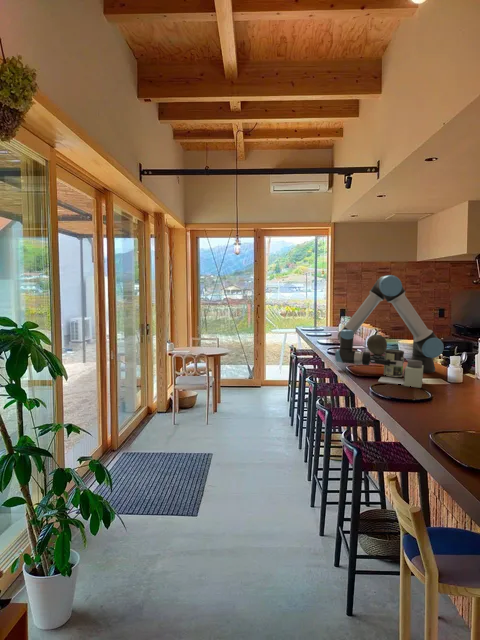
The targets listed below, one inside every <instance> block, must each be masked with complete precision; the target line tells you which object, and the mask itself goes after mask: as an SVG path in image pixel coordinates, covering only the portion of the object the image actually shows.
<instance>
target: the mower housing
mask: <svg viewBox="0 0 480 640" xmlns="http://www.w3.org/2000/svg"><path fill="white" fill-rule="evenodd" d="M423 366H424V365H422V361H419V360H411V359H408V360H407V364H406V366H405V368H404V371H403V372H404V373H403V378H399V377H390V376H380V378H379V379H378V381H377V382H378V383H381V384H390V385H398V384H401V385H400V386H404V387H410V386H411V387H412V388H419V389H421V388H422V385H423V377H424V372H423Z"/></svg>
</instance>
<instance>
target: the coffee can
mask: <svg viewBox="0 0 480 640" xmlns="http://www.w3.org/2000/svg"><path fill="white" fill-rule="evenodd" d="M404 355H405V351H404V350H401V349H393V348H392V349H391V348H390V349H388V348H387V349H386V350H385V353H384V356H385V360H396V361H403V358H404V357H405V356H404ZM404 359H405V358H404ZM403 369H404V364H403V365H402V366H395V365H390V366H388V365H383V375H384V376H385V375H386V376H385V377H390V378H402V377H403V374H404V373H403V372H404V371H403Z"/></svg>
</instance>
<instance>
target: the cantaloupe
mask: <svg viewBox="0 0 480 640" xmlns="http://www.w3.org/2000/svg"><path fill="white" fill-rule="evenodd" d="M366 347H367V349H368V351H369V352H370V354H373V356H374V355H375V356H382V355H385V350H387V349H388V341H387V339H386V338H385V336H382V335H381V334H372V335H370V336H369V337H368V339H367V340H366Z"/></svg>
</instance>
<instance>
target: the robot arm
mask: <svg viewBox="0 0 480 640" xmlns="http://www.w3.org/2000/svg"><path fill="white" fill-rule="evenodd" d="M384 300H385V301H386V302H387V303H390V304H392V306H393V307H394V309H395V311H396V312H397V313H398V315H399V317H400V318H401V319H402V320H403V322H404V324H405V326H406V327H407V328H408V330H409V332H410V333H411V334H412V336H413V337H412V338H413V341H412V352H411V353H412V355H411V359H410V360H419V361H422V365H424V366H423V374H424V373H426V374H429V373H436V366H435V363H434V358H438V357H440V356H441V355H442V354H443V352H444V348H445V347H444V343H443V341H442V340H441V339H440V338H438V336H437V335H436V334H435V332H434V331H433V330H432V329H429V328H428V327H427V326H426V323H424V321H423V319H422V317H420V315H419V313H417V311H416V309H415V308H414V306H413V305H412V303H411V302H410V300H409V299H408V298H407V296H406V290H405V288H404V286H403V283H402V281H401V279H400V278H399V277H398V276H397V275H393V274H387V275H382V276H380V277H379V278H377V280H376V281H375V283H374V284H373V286H372V287H371V289H370V290H369V294H368V296H367V297H366V298H365V300H364V301H363V302H362V304H360V306H359V307H358V309H357V310H356V311H355V312H354V314H352V316H351V318H350V319H349V320H348V322H347V323H346V324H345V325H344V327H343V328H342V329H341V330H339V332H338V333H337V341H339V349H336V350H335V353H334V357H335V362H338V363H343V364H352V365H353V364H354V365H356V366H358V365H363V366H369V365H370V364H377V365H381V366H382V365H383V366H384V365H388V366H390V365H395V366H402V365H403V366H404V364H405V358H403V361H396V360H385V355H383V356H382V355H379V356H378V355H374V354H373V356H371V352H370V351H361V350H360V351H359V350H354V349H353V348H354V337H355V334H356V333H357V331H359V329H360V328H361V326H362V325H363V324H364V322H365V321H366V320H367V318H368V317H369V316H370V315H371V313H372V312H373V311H374V310H375V309H376V307H377V306H378V305H379V304H380V302H382V301H383V302H384Z"/></svg>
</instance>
